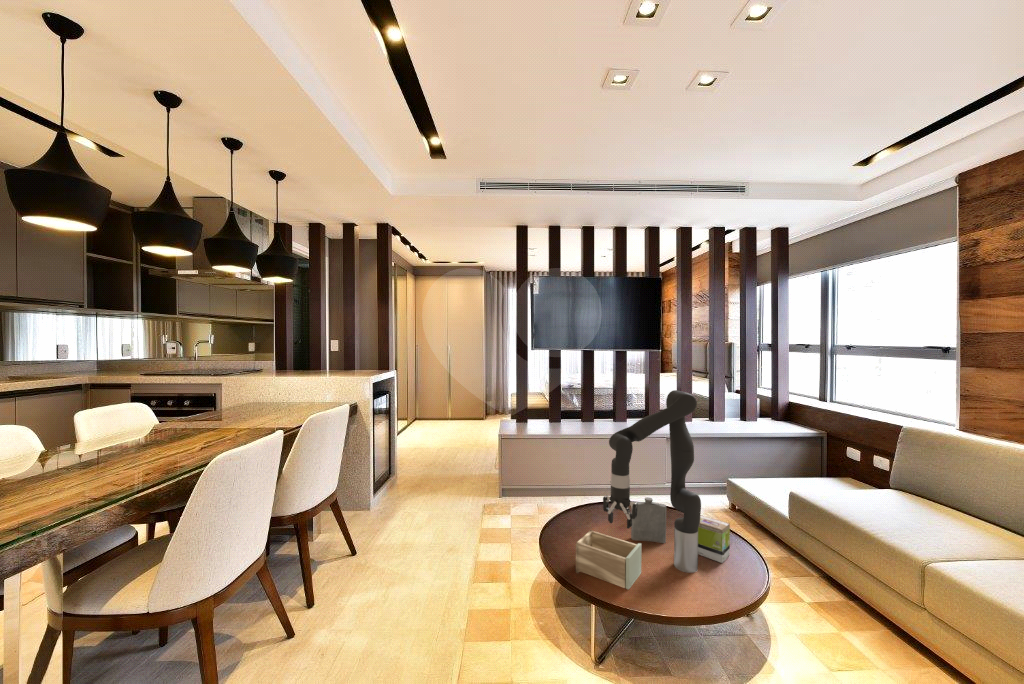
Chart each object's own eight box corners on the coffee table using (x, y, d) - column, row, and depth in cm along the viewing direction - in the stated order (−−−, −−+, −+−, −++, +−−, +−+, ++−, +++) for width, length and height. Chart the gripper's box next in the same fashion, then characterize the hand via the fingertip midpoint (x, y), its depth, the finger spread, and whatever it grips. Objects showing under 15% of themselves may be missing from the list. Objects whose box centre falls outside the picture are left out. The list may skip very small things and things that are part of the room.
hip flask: (631, 540, 199) (631, 498, 199) (630, 536, 203) (631, 495, 203) (666, 543, 196) (666, 501, 196) (664, 539, 200) (665, 498, 200)
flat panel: (638, 571, 170) (638, 543, 170) (641, 572, 169) (641, 543, 169) (625, 588, 159) (626, 557, 159) (628, 589, 158) (629, 558, 158)
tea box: (730, 555, 186) (730, 522, 185) (722, 564, 179) (722, 530, 178) (696, 543, 196) (696, 512, 196) (687, 551, 189) (687, 519, 189)
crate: (590, 558, 183) (590, 530, 183) (637, 574, 170) (637, 544, 170) (575, 572, 172) (575, 542, 171) (624, 591, 159) (625, 559, 159)
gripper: (640, 485, 166) (640, 526, 166) (607, 478, 174) (606, 517, 175) (634, 491, 160) (634, 533, 160) (599, 483, 168) (599, 523, 168)
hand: (619, 524), depth 167 cm, fingers open, 7 cm apart
